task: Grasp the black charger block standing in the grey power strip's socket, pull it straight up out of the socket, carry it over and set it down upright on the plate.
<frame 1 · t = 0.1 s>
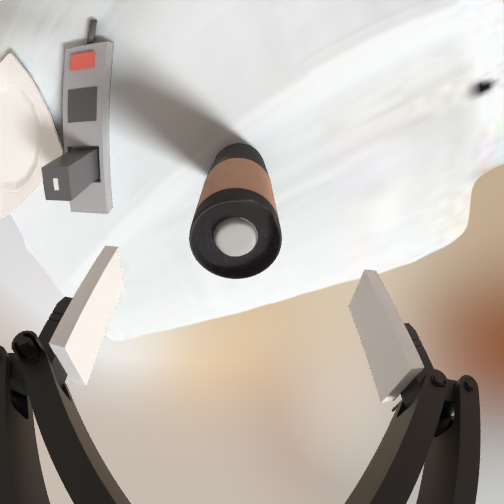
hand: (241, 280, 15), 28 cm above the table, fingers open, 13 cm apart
charger: (87, 161, 37), point 1 cm above the table, touching power strip
travel mug: (238, 167, 40), on the table
power strip: (89, 128, 35), on the table
plate: (8, 136, 33), on the table
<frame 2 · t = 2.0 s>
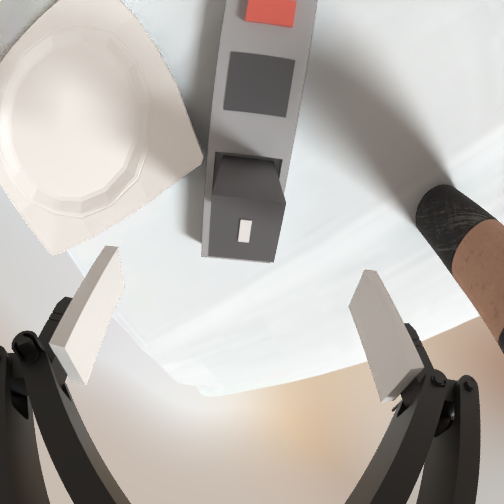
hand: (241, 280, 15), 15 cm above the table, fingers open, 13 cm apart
charger: (245, 181, 26), point 1 cm above the table, touching power strip
travel mug: (438, 210, 29), on the table
power strip: (252, 126, 24), on the table
plate: (67, 122, 23), on the table
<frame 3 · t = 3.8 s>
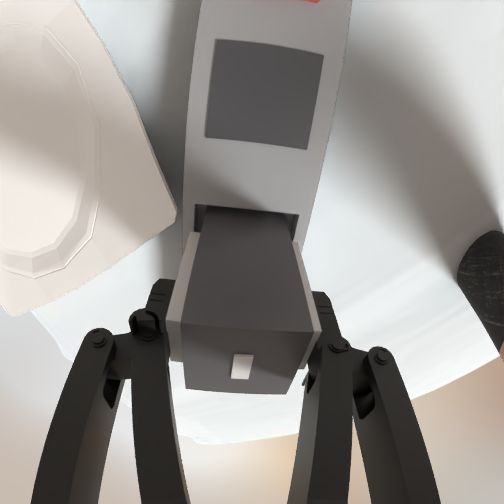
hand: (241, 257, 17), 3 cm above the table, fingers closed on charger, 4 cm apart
charger: (241, 241, 18), point 1 cm above the table, touching gripper, power strip
travel mug: (482, 260, 21), on the table
power strip: (251, 159, 16), on the table
plate: (5, 155, 15), on the table
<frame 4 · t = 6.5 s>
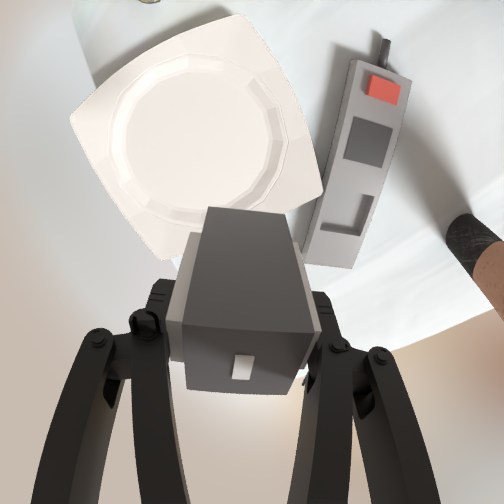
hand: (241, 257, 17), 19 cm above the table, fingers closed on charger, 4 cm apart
charger: (242, 242, 18), point 17 cm above the table, touching gripper
travel mug: (460, 231, 38), on the table
power strip: (353, 169, 33), on the table
plate: (195, 141, 31), on the table
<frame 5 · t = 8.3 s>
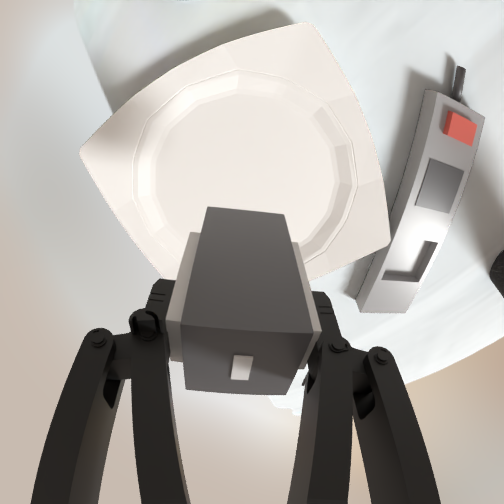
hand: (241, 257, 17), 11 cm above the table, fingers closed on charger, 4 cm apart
charger: (241, 242, 18), point 10 cm above the table, touching gripper
travel mug: (503, 263, 33), on the table
power strip: (418, 212, 28), on the table
plate: (244, 182, 27), on the table
when the fingers open (5 cm above the table, at t = 9.7 s): charger drops 1 cm, resting on plate.
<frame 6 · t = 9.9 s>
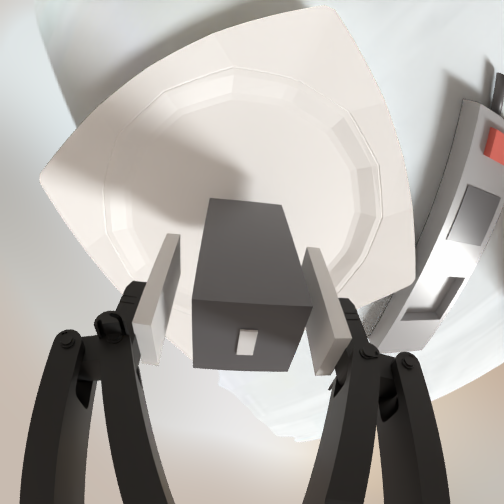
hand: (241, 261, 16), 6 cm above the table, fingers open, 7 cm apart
charger: (241, 232, 19), point 2 cm above the table, touching plate
power strip: (445, 243, 23), on the table
plate: (242, 212, 22), on the table, touching charger
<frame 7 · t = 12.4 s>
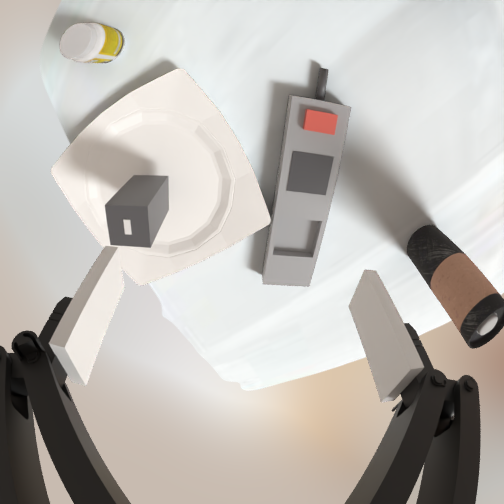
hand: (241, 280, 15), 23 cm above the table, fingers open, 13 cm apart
charger: (151, 192, 34), point 2 cm above the table, touching plate
travel mug: (423, 243, 42), on the table
supplement bottle: (109, 46, 25), on the table
power strip: (300, 197, 37), on the table
plate: (157, 184, 36), on the table, touching charger
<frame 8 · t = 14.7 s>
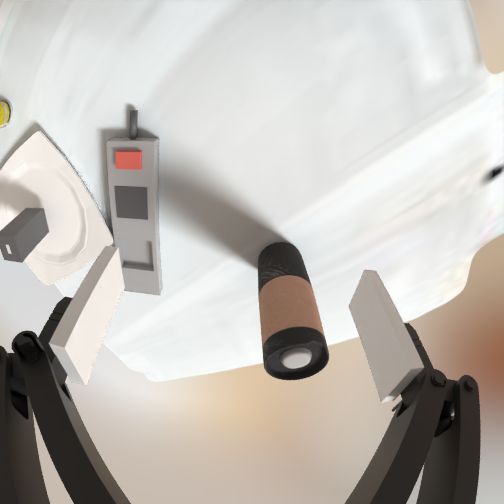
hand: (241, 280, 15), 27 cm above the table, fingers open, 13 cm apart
charger: (37, 219, 39), point 2 cm above the table, touching plate
travel mug: (279, 259, 47), on the table
supplement bottle: (5, 112, 30), on the table
power strip: (137, 220, 42), on the table
plate: (45, 211, 41), on the table, touching charger
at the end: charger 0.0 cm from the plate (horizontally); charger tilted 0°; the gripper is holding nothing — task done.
